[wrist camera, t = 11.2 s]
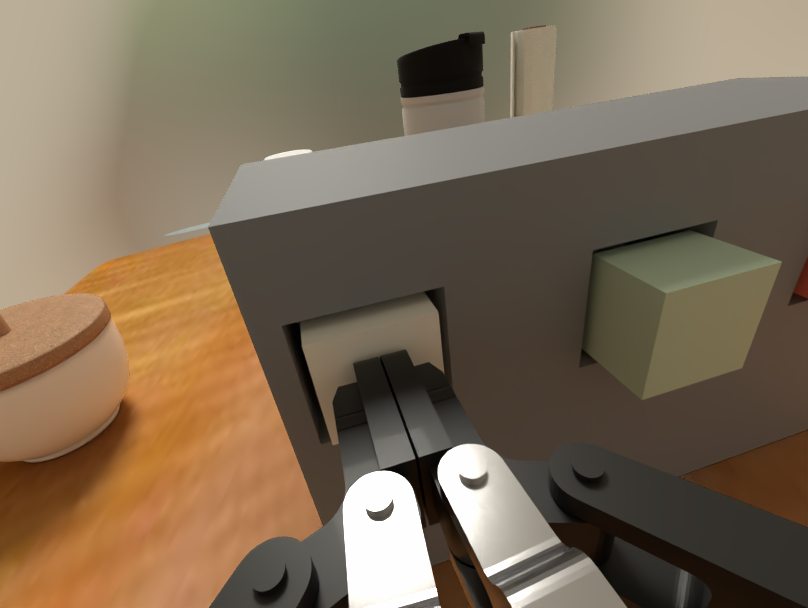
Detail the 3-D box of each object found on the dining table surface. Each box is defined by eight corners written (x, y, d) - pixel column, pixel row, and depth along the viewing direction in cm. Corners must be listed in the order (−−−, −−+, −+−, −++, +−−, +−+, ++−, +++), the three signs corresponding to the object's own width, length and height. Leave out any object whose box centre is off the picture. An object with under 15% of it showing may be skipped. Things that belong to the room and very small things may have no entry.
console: (350, 596, 17) (208, 227, 9) (329, 442, 24) (241, 164, 16) (808, 429, 21) (998, 72, 13) (671, 340, 28) (737, 78, 20)
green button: (642, 400, 12) (666, 293, 10) (581, 347, 14) (592, 254, 12) (742, 368, 12) (782, 261, 11) (667, 323, 15) (689, 230, 13)
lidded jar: (-70, 480, 25) (-200, 363, 21) (85, 370, 34) (19, 270, 29) (48, 511, 22) (-74, 382, 18) (186, 381, 31) (130, 272, 26)
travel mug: (465, 311, 34) (449, 33, 25) (409, 292, 39) (376, 48, 29) (504, 282, 38) (504, 29, 28) (449, 267, 42) (432, 43, 32)
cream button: (332, 445, 12) (301, 346, 10) (324, 385, 14) (297, 296, 12) (448, 411, 12) (438, 311, 11) (420, 359, 15) (409, 270, 13)
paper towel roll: (539, 175, 70) (545, 26, 59) (555, 182, 64) (565, 21, 54) (498, 181, 69) (497, 33, 59) (511, 189, 64) (512, 29, 54)
